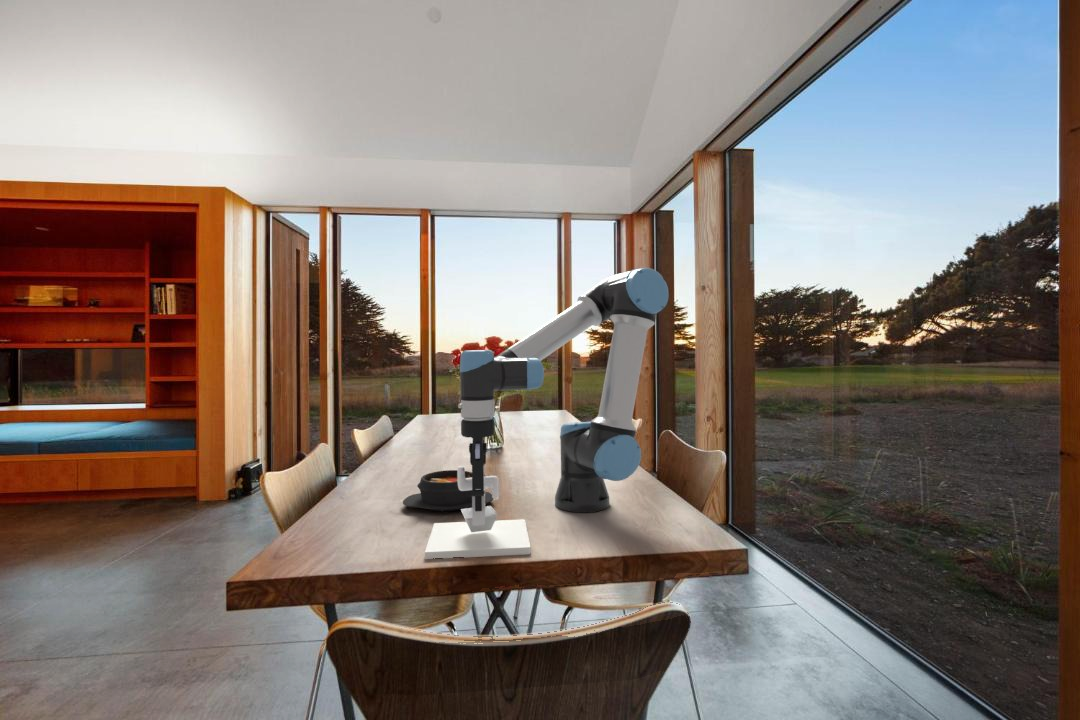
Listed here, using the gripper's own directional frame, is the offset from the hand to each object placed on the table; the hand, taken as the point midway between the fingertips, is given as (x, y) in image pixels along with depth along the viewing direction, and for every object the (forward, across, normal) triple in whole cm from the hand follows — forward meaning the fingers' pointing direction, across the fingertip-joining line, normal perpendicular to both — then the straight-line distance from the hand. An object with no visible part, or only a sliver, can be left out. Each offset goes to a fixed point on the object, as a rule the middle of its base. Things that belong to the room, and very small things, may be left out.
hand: (479, 518), depth 117 cm
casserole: (+6, -28, -9) cm, 30 cm away
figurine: (+2, 0, 0) cm, 2 cm away
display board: (+5, 0, 0) cm, 5 cm away
